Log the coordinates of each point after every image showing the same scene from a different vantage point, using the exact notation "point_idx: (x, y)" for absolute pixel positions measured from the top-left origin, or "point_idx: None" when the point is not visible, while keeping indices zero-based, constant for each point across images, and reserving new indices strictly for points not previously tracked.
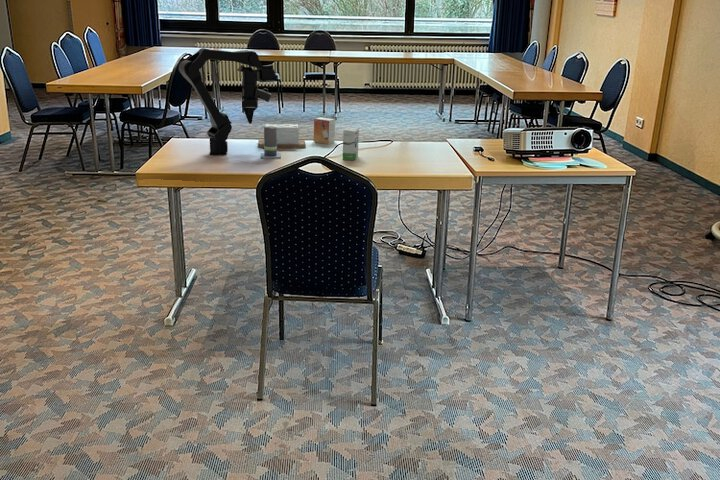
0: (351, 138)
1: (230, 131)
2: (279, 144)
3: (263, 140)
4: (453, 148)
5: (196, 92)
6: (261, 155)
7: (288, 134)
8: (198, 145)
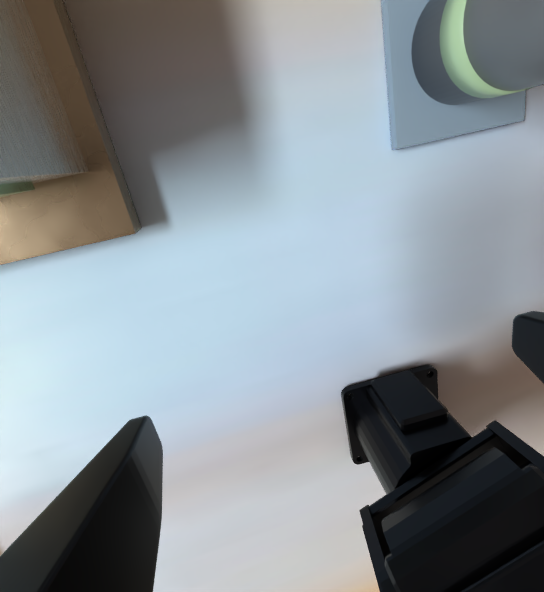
0: None
1: (502, 453)
2: (54, 3)
3: None
4: None
5: None
6: (482, 123)
7: None
8: (202, 561)
